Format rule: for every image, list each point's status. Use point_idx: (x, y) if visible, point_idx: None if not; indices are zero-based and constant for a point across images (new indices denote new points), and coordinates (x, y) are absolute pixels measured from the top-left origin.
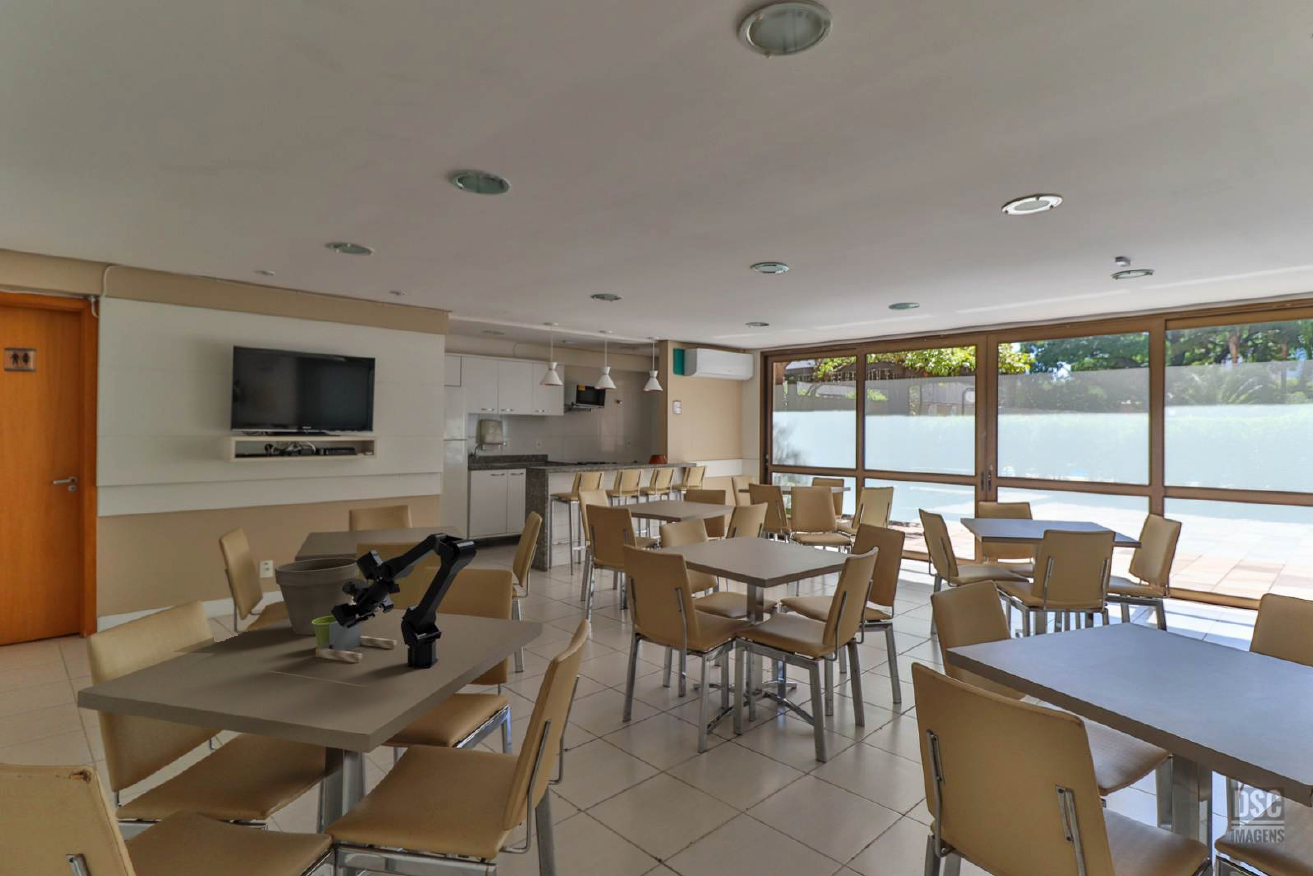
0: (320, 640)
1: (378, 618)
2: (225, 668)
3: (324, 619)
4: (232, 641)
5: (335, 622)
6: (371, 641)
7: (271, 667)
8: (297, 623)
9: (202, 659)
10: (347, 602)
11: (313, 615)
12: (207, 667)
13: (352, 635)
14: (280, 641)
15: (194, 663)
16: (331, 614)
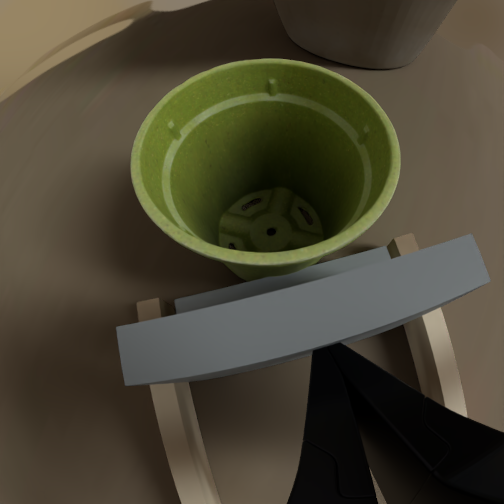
0: (199, 226)
1: (498, 82)
2: (5, 183)
3: (278, 75)
4: (166, 16)
5: (173, 348)
6: (431, 377)
7: (25, 280)
8: (278, 8)
9: (52, 88)
10: (443, 7)
11: (312, 3)
12: (10, 147)
13: (356, 339)
14: (220, 51)
15: (30, 105)
16: (377, 22)
